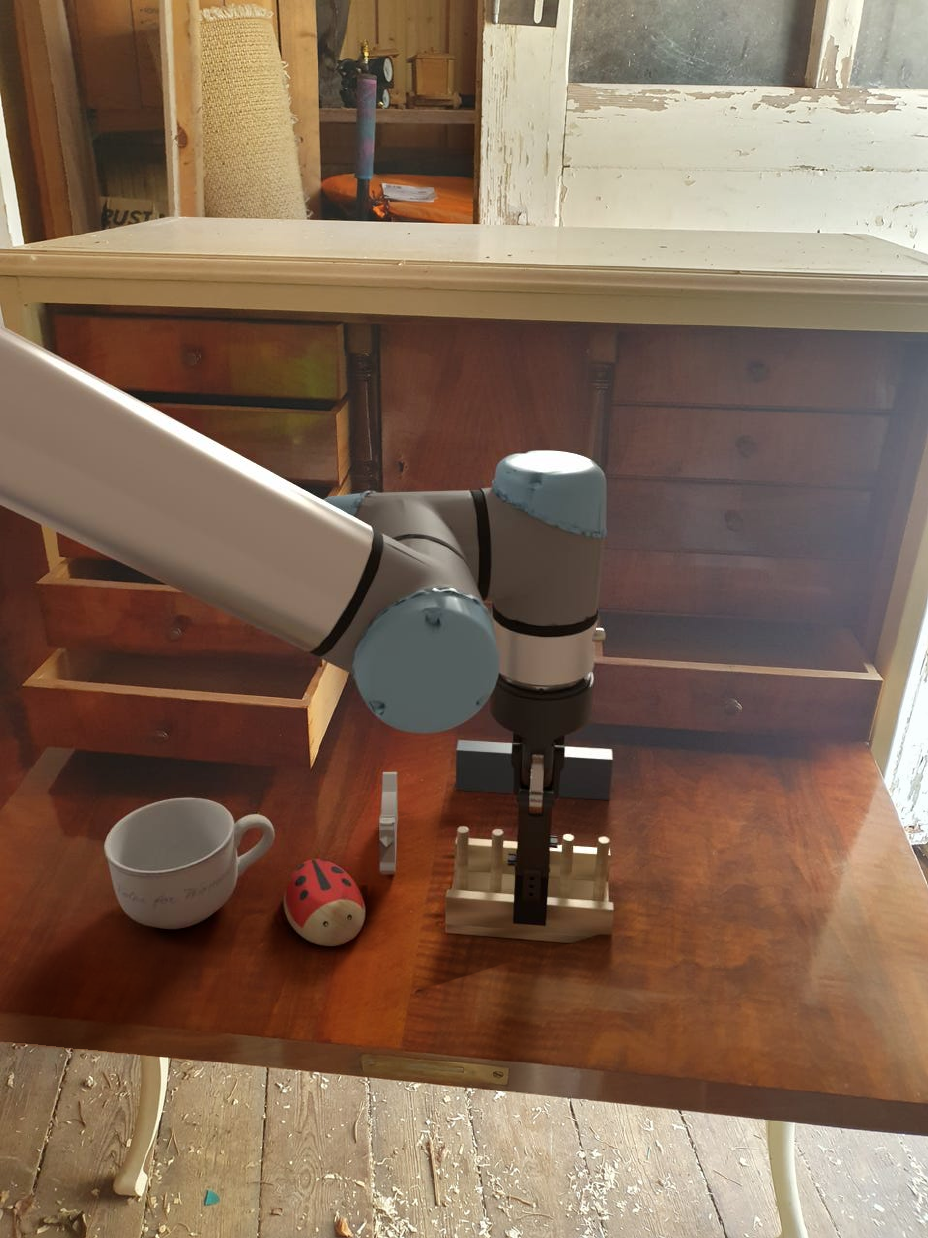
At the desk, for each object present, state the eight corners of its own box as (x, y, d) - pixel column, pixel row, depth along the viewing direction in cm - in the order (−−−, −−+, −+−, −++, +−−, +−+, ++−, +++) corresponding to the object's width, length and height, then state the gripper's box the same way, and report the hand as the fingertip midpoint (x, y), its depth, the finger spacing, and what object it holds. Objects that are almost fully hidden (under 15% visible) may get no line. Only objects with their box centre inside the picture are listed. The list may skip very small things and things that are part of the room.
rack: (445, 933, 82) (445, 859, 79) (455, 871, 90) (456, 800, 86) (610, 947, 81) (617, 872, 78) (607, 883, 88) (614, 812, 85)
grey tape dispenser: (397, 819, 97) (394, 885, 88) (384, 819, 97) (379, 885, 88) (396, 770, 94) (393, 834, 85) (382, 770, 94) (378, 834, 85)
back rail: (455, 790, 101) (456, 750, 99) (457, 779, 103) (458, 739, 101) (609, 800, 100) (612, 759, 98) (608, 789, 102) (612, 749, 99)
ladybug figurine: (307, 962, 79) (304, 929, 78) (269, 889, 87) (266, 858, 85) (381, 935, 82) (380, 903, 81) (339, 867, 90) (337, 836, 88)
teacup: (107, 954, 80) (92, 878, 76) (127, 868, 89) (115, 797, 86) (277, 936, 82) (271, 862, 78) (279, 854, 91) (273, 784, 88)
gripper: (596, 717, 64) (575, 982, 74) (592, 631, 75) (574, 870, 85) (483, 710, 64) (477, 974, 74) (496, 626, 76) (490, 864, 86)
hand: (529, 918), depth 80 cm, fingers closed
